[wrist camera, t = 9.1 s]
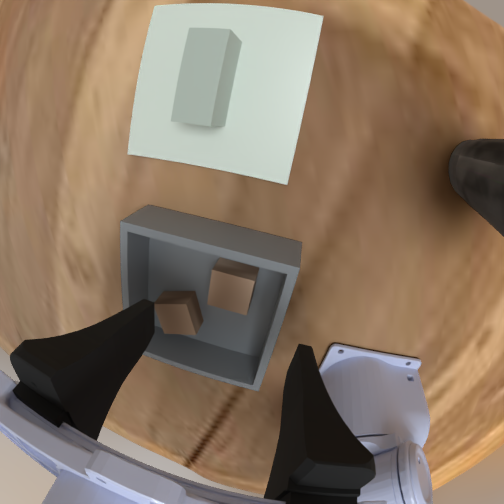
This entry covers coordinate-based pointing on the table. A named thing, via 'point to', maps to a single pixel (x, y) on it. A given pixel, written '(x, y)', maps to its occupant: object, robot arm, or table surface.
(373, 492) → the robot arm
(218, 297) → the wooden block
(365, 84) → the table surface
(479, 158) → the beverage cup
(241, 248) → the storage box
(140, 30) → the table surface
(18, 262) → the table surface
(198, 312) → the wooden block
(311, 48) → the lid
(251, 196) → the table surface
